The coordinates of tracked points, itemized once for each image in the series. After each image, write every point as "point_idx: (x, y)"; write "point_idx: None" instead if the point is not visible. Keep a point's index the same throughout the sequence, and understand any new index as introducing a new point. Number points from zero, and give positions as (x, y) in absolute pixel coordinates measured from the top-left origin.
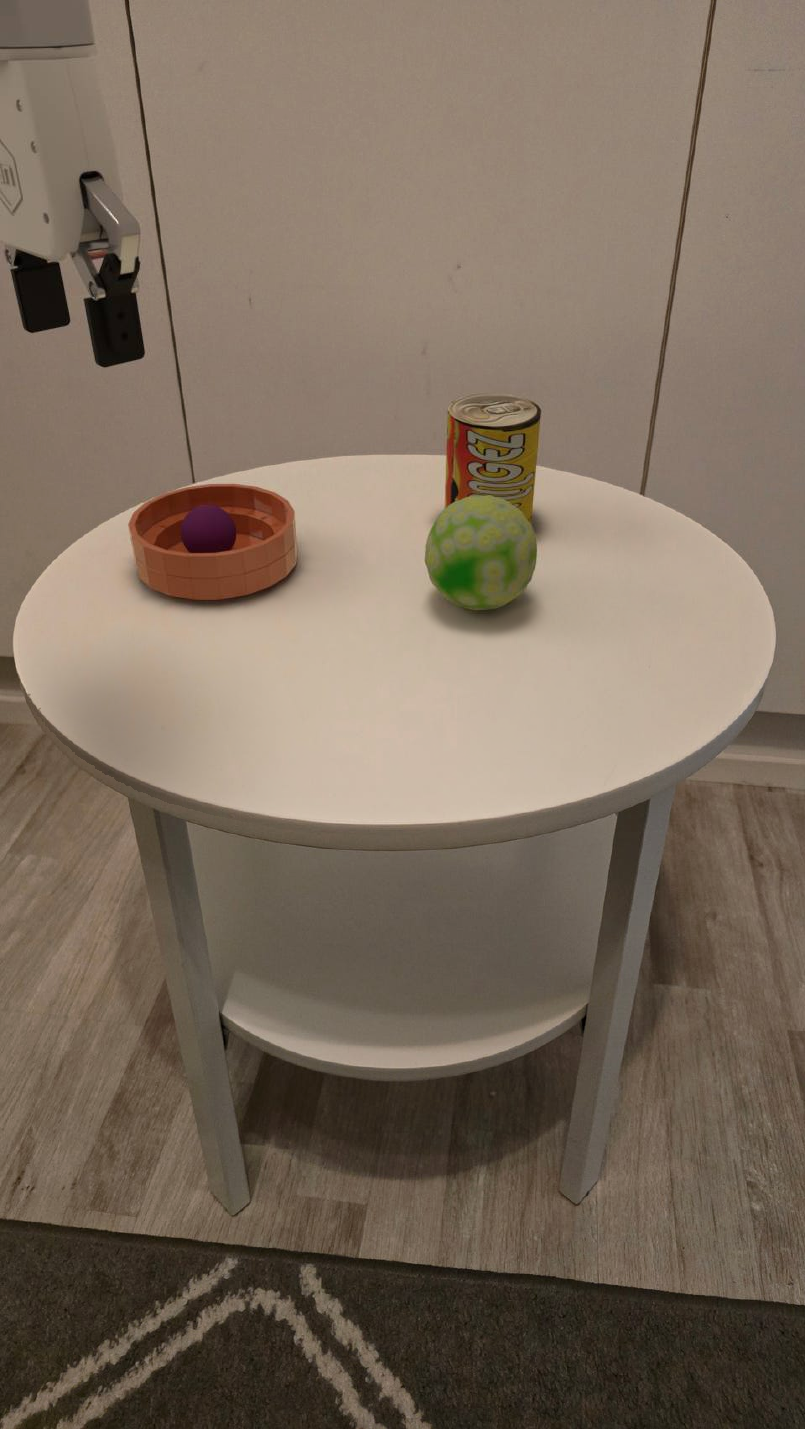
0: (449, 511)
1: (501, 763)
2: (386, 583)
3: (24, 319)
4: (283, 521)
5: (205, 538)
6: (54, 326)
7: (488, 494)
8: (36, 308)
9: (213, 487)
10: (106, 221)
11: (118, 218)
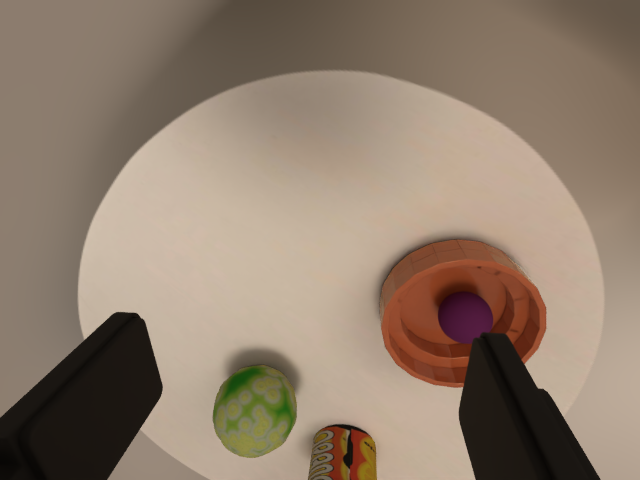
0: (259, 427)
1: (120, 272)
2: (328, 359)
3: (493, 351)
4: (432, 366)
5: (448, 307)
6: (464, 386)
7: (319, 465)
8: (488, 401)
9: None
10: None
11: None
